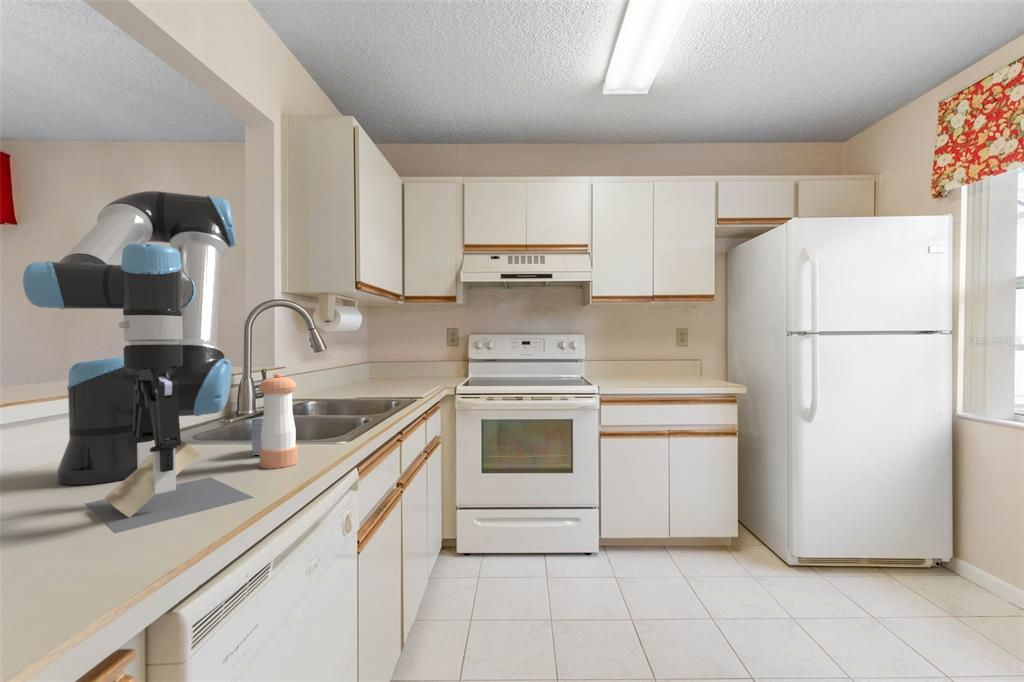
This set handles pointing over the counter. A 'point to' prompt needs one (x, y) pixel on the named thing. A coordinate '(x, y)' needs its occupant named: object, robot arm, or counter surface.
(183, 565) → the counter surface
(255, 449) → the medicine box
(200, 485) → the mat
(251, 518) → the counter surface
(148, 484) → the birch block
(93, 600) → the counter surface
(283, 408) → the salt shaker
